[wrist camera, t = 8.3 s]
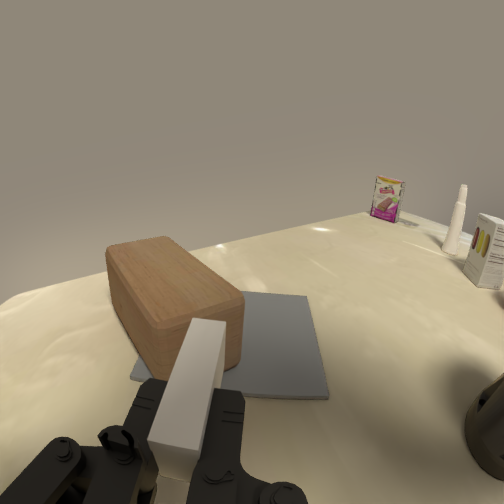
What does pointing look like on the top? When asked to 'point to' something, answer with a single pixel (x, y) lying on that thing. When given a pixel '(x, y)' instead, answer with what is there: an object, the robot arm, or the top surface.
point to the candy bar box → (387, 198)
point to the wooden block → (170, 300)
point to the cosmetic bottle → (456, 223)
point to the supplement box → (486, 253)
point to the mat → (272, 351)
